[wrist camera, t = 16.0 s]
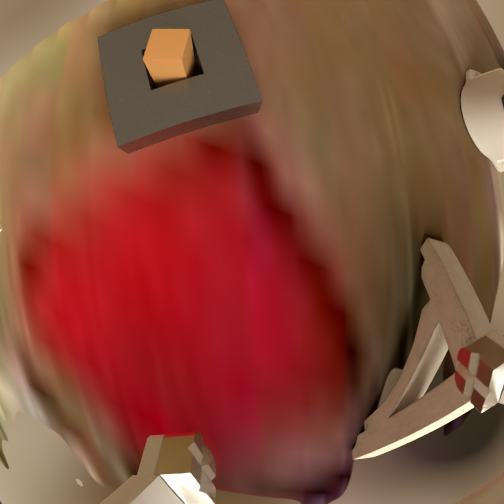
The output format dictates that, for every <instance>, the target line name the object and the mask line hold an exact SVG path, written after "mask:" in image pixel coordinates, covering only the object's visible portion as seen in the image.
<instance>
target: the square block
mask: <svg viewBox="0 0 504 504" xmlns="http://www.w3.org/2000/svg"><path fill="white" fill-rule="evenodd" d="M143 61H144V63H145V65H146V67H147V69H148V71H149V73H150V75H151V76H152V78H153V80H154V82H155V84H156V86H157V88H160V87H163V86H166V85H169V84H172V83H175V82H178V81H181V80H184V79H188V78H191V77H192V76H193V71H194V67H195V58H194V52H193V45H192V39H191V33H190V29H152V32H151V35H150V38H149V41H148V44H147V47H146V50H145V54H144V57H143Z"/></svg>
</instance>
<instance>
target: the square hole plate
mask: <svg viewBox="0 0 504 504" xmlns="http://www.w3.org/2000/svg"><path fill="white" fill-rule="evenodd" d="M152 29H190V33H191V39H192V45H193V50H194V52H195V55H196V58H197V61H198V64H199V68H200V71H201V75H198V76H194V77H191V78H188V79H184V80H181V81H178V82H175V83H172V84H169V85H166V86H163V87H160V88H157V89H154V86H153V82H152V78H151V75H150V73H149V71H148V69H147V67H146V65H145V63H144V61H143V57H144V54H145V50H146V47H147V44H148V41H149V38H150V35H151V32H152ZM98 44H99V51H100V58H101V65H102V71H103V78H104V83H105V89H106V95H107V100H108V105H109V110H110V115H111V120H112V125H113V129H114V134H115V138H116V142H117V147H119V148H120V149H122V150H123V151H125V152H127V153H128V154H129V153H131V152H134V151H136V150H139V149H142V148H144V147H147V146H150V145H152V144H155V143H158V142H161V141H163V140H166V139H169V138H172V137H175V136H178V135H181V134H184V133H187V132H190V131H193V130H197V129H200V128H203V127H206V126H210V125H213V124H217V123H220V122H224V121H227V120H231V119H235V118H238V117H242V116H246V115H250V114H254V113H258V111H259V109H260V106H261V103H262V98H261V95H260V93H259V90H258V87H257V84H256V82H255V79H254V76H253V73H252V71H251V68H250V65H249V63H248V60H247V57H246V55H245V52H244V49H243V47H242V44H241V42H240V39H239V37H238V34H237V32H236V29H235V27H234V24H233V22H232V19H231V17H230V14H229V12H228V9H227V7H226V5H225V2H224V0H211V1H206V2H202V3H197V4H193V5H189V6H185V7H181V8H178V9H174V10H171V11H167V12H164V13H161V14H157V15H154V16H151V17H148V18H145V19H142V20H139V21H137V22H134V23H131V24H129V25H126V26H123V27H121V28H118V29H116V30H113V31H111V32H109V33H106V34H104V35H102V36H99V37H98Z"/></svg>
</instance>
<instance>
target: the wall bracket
mask: <svg viewBox="0 0 504 504" xmlns="http://www.w3.org/2000/svg"><path fill="white" fill-rule="evenodd" d="M420 251H421V253H422V255H423V257H424V259H425V261H424V263H423V265H422V270H421V277H422V281H423V283H424V286H425V288H426V290H427V293H428V295H429V297H430V301H429V302H428V303H427V304H426V305H425V306H424V308H423V309H422V312H421V316H420V320H419V324H418V328H417V332H416V336H415V340H414V343H413V347H412V349H411V352H410V354H409V357H408V359H407V362H406V364H405V366H404V369H403V371H402V373H401V376H400V378H399V380H398V381H397V383H396V385H395V386H394V388H393V389H392V391H391V392H390V394H389V395H388V397H387V398H386V400H385V401H384V402H383V404H382V405H381V406H380V407H379V408H378V409H377V410H376V411H374V412H373V413H372V414H371V415H370V416H369V417H368V418H367V419H366V420H365V421H364V428H365V431H364V432H363V433H361V434H359V435H358V436H357V441H356V445H355V447H354V448H353V450H352V458H353V459H361V458H369V457H375V456H378V455H380V454H382V453H385V452H388V451H390V450H392V449H395V448H397V447H399V446H401V445H404V444H406V443H408V442H411V441H413V440H415V439H417V438H419V437H421V436H423V435H425V434H427V433H429V432H431V431H433V430H435V429H437V428H439V427H441V426H442V425H444V424H446V423H448V422H450V421H452V420H453V419H455V418H457V417H459V416H460V415H462V414H464V413H465V412H467V411H469V410H470V409H472V408H473V407H474V406H473V405H472V404H471V403H470V396H466V395H463V394H462V393H461V392H460V391H459V389H458V388H457V386H456V382H455V373H454V374H453V375H452V376H451V377H449V378H448V379H447V380H445V381H444V382H443V383H441V384H440V385H438V386H437V387H436V388H434V389H433V390H431V391H430V392H429V393H427V394H426V395H424V393H425V392H426V390H427V388H428V386H429V385H430V383H431V381H432V379H433V377H434V375H435V374H436V372H437V370H438V368H439V366H440V364H441V362H442V360H443V358H444V356H445V354H446V352H447V350H448V348H449V351H450V354H451V357H452V360H453V364H454V367H455V370H456V368H457V367H458V365H459V363H460V362H459V361H458V360H457V356H458V352H459V350H460V348H462V347H464V346H466V345H468V344H469V343H471V342H473V341H475V340H476V339H478V338H480V337H482V336H483V335H485V334H486V333H488V332H489V331H491V330H492V327H491V325H490V323H489V320H488V318H487V316H486V314H485V312H484V310H483V307H482V305H481V303H480V301H479V299H478V297H477V295H476V293H475V291H474V289H473V287H472V285H471V283H470V281H469V279H468V278H467V276H466V274H465V272H464V270H463V268H462V267H461V265H460V263H459V261H458V259H457V258H456V256H455V254H454V252H453V251H452V249H451V247H450V246H449V244H448V243H444V242H441V241H438V240H434V239H431V238H427V239H426V241H425V242H424V244H423V245H422V247H421V249H420ZM423 395H424V396H423Z"/></svg>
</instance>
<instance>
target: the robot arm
mask: <svg viewBox="0 0 504 504" xmlns="http://www.w3.org/2000/svg"><path fill="white" fill-rule="evenodd" d="M461 108H462V114H463V118H464V121H465V124H466V127H467V129H468V132H469V134H470V136H471V138H472V140H473V141H474V143H475V144H476V146H477V147H478V149H479V150H480V151H481V152H482V153H483V154H484V155H485V156H486V157H488V158H489V159H490V160H491V161H492V163H493V164H494V166H495V168H496V169H497V170H498V172H504V70H503V69H502V68H498V69H495V70H492V71H489V72H486V73H483V74H482V73H480V72H477V71H475V70H472V69H470V70H467V71H466V83H465V85H464V87H463V89H462V93H461ZM457 360H458V361H459V362H460V363H459V365H458V367H457V368H456V370H455V382H456V386H457V388H458V389H459V391H460V392H461V393H462V394H463V395H466V396H470V403H471V404H472V405H473V406H474V407H475V408H476V409H477V410H478V411H479V412H480V413H482V412H484V411H486V410H487V409H488V408H490V407H492V406H493V405H495V404H496V403H498V402H499V401H500V403H502V404H504V335H503V334H501V333H500V332H498V331H496V330H491V331H489V332H488V333H486V334H485V335H483V336H482V337H480V338H478V339H476V340H475V341H473V342H471V343H469V344H468V345H466V346H464V347H462V348H460V350H459V352H458V356H457ZM215 476H216V467H215V461H214V458H213V455H212V453H211V451H210V449H209V448H207V447H205V446H204V439H203V437H202V435H201V434H200V432H191V433H179V434H166V435H151V436H150V437H149V438H148V439H147V442H146V445H145V449H144V452H143V456H142V459H141V463H140V467H139V470H138V474H137V475H133V476H131V477H130V478H129V479H128V480H127V481H126V482H125V483H123V484H122V485H121V486H120V487H119V488H118V489H117V490H115V491H114V492H113V493H112V494H111V495H110V496H108V497H107V498H106V499H105V500H103V501H102V502H101V503H100V504H215V486H214V485H213V483H212V482H211V481H212V479H213V478H214V477H215ZM456 504H504V471H503V472H502V473H501V474H499V475H498V476H496V477H495V478H494V479H492V480H491V481H490V482H488V483H487V484H485V485H484V486H483V487H481V488H480V489H478V490H477V491H475V492H474V493H472V494H471V495H469V496H468V497H466V498H464V499H463V500H461V501H460V502H458V503H456Z"/></svg>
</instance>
